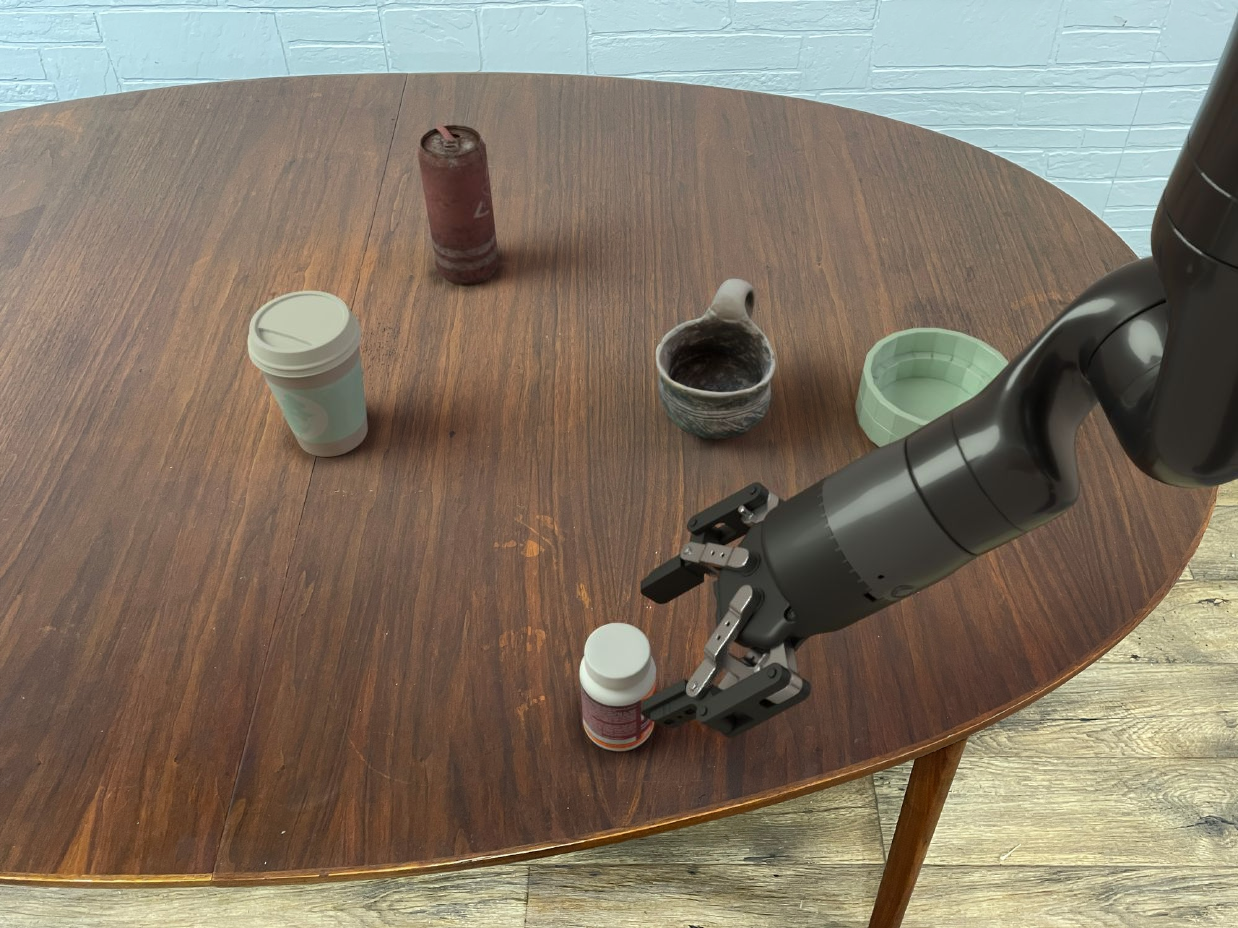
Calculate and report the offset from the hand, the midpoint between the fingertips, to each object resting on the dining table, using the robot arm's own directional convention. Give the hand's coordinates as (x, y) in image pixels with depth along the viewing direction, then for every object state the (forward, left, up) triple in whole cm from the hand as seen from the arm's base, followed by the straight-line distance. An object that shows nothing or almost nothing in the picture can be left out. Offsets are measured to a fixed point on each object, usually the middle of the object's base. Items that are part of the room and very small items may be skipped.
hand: (650, 652), depth 63 cm
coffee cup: (+26, -27, -8) cm, 38 cm away
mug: (-6, -30, -8) cm, 31 cm away
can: (+17, -50, -8) cm, 53 cm away
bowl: (-24, -28, -8) cm, 37 cm away
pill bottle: (+2, 0, -8) cm, 8 cm away
